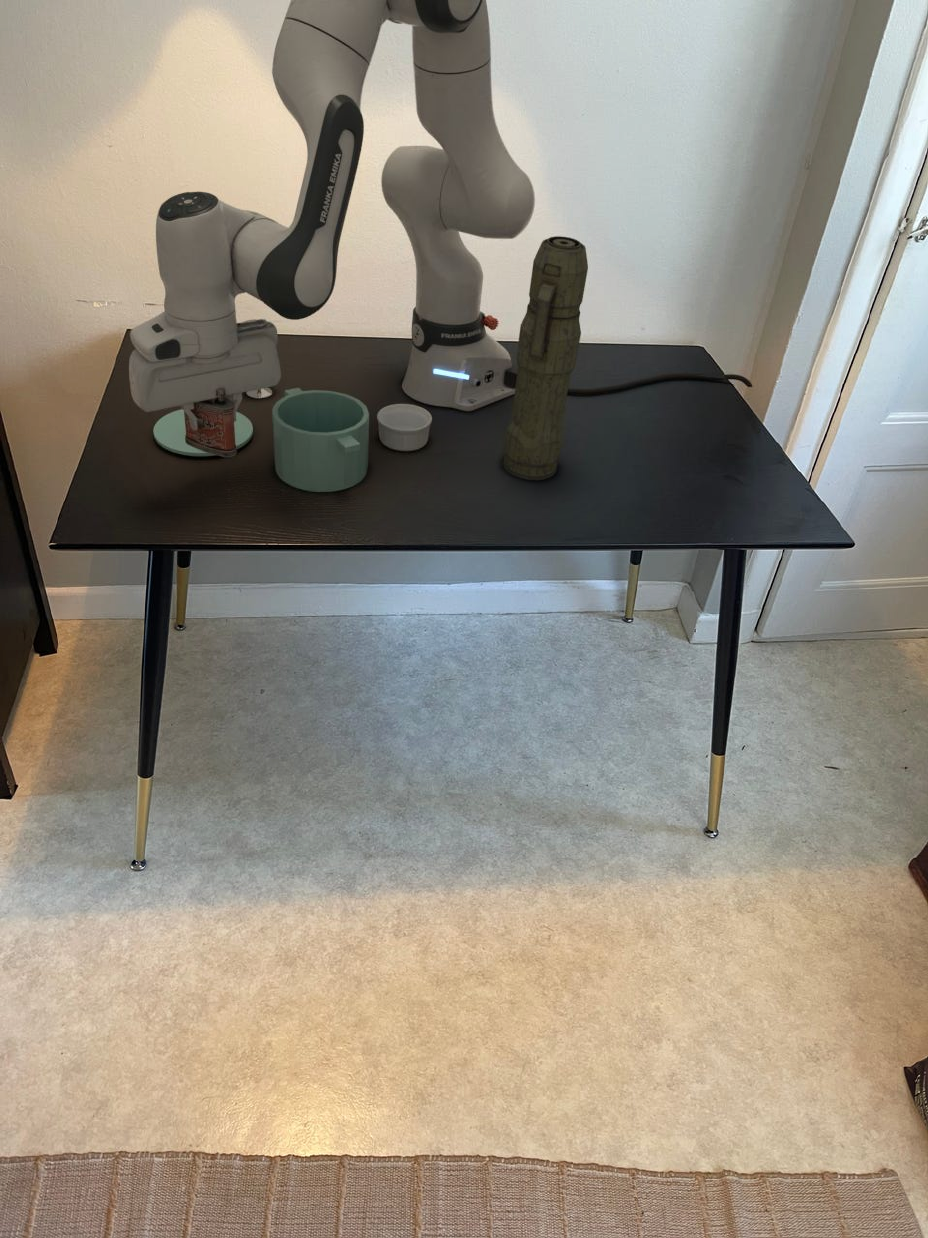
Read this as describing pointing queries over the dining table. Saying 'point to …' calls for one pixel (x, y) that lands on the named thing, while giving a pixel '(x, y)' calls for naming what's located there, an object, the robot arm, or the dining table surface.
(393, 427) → the ramekin
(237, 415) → the lid
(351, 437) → the pot
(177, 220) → the robot arm
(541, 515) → the dining table surface
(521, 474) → the thermos
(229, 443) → the lighter
